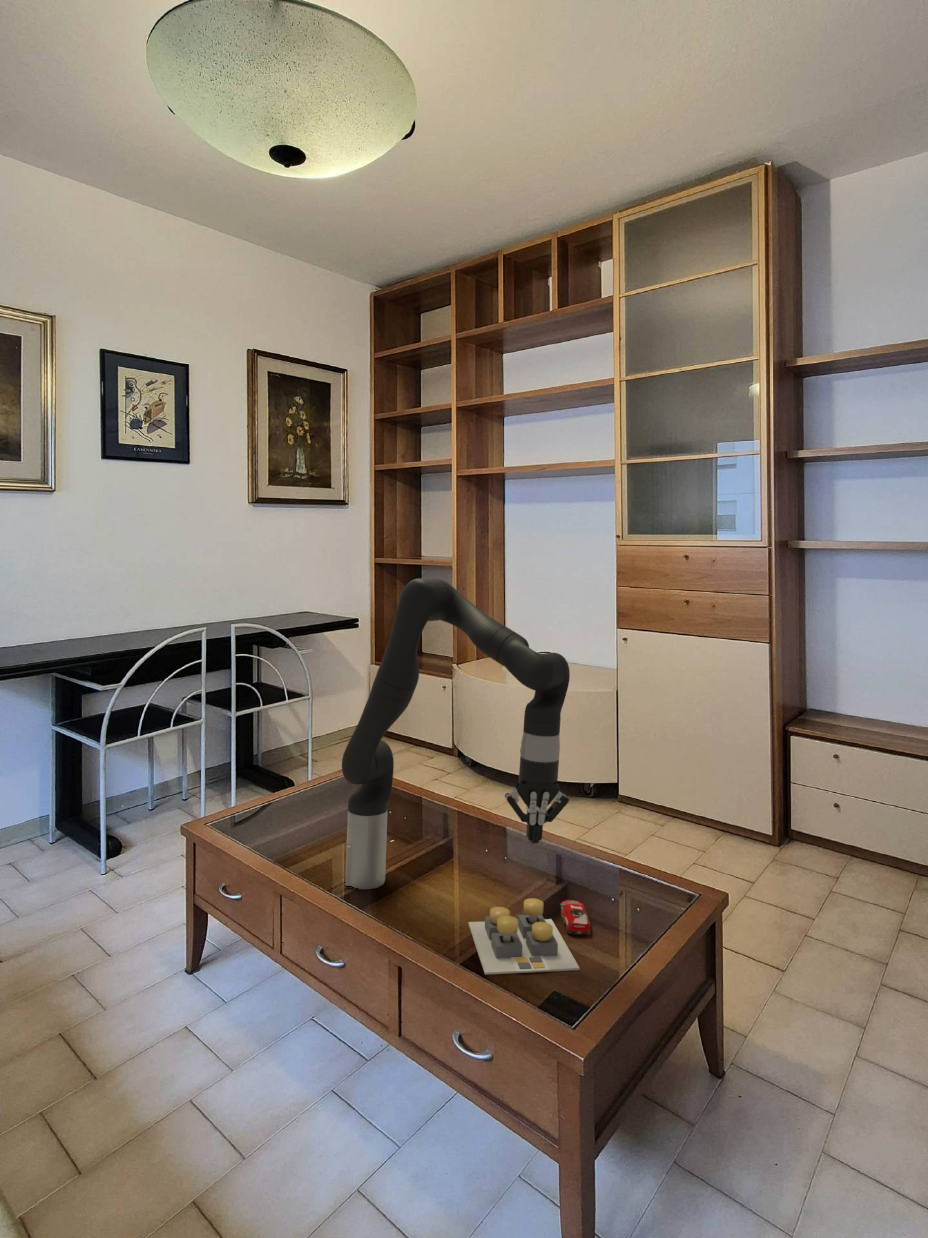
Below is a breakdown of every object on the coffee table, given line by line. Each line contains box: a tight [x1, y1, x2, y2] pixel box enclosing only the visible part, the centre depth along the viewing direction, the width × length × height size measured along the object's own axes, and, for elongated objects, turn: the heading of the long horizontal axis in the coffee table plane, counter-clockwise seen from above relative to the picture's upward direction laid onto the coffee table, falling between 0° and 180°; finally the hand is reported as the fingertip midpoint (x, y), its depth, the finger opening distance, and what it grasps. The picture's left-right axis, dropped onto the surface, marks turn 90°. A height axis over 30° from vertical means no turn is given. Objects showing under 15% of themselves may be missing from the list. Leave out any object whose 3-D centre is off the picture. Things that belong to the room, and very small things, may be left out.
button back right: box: [523, 897, 544, 924], centre depth 145 cm, size 4×4×4 cm
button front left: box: [497, 915, 518, 943], centre depth 137 cm, size 4×4×4 cm
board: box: [467, 914, 581, 975], centre depth 140 cm, size 18×19×3 cm
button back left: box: [489, 906, 511, 925], centre depth 144 cm, size 4×4×4 cm
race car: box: [559, 899, 591, 936], centre depth 150 cm, size 13×5×4 cm, turn 178°
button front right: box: [532, 922, 553, 941], centre depth 138 cm, size 4×4×4 cm
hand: (533, 841), depth 139 cm, fingers closed
